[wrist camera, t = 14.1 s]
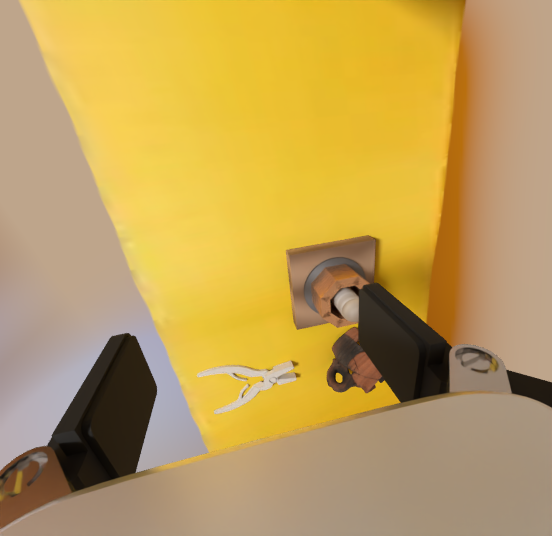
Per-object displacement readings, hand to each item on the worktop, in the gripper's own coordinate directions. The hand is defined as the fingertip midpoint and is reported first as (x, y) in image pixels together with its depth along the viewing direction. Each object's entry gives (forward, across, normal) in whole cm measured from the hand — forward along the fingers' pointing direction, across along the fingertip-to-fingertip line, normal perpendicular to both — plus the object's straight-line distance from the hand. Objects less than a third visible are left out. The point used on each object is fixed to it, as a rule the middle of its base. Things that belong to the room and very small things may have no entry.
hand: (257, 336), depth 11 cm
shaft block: (+24, -12, +12) cm, 30 cm away
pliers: (+25, +2, +28) cm, 37 cm away
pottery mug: (+25, -15, +27) cm, 39 cm away
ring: (+22, -12, +12) cm, 28 cm away
